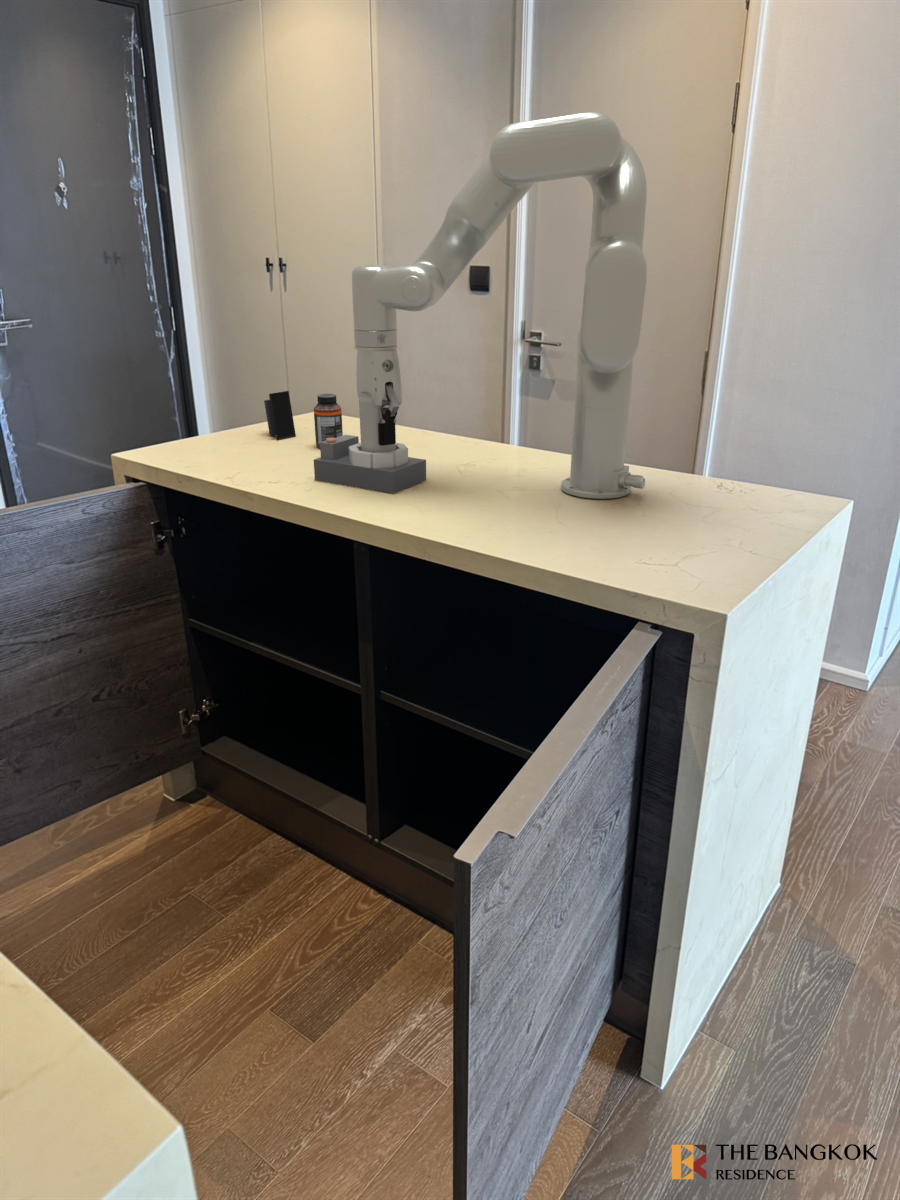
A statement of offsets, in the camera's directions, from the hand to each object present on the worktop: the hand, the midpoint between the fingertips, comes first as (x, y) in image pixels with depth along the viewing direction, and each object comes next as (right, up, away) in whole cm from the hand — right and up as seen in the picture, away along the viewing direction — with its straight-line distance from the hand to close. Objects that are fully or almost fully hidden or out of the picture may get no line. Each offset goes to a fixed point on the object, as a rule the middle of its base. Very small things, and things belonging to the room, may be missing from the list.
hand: (379, 440), depth 159 cm
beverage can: (0, -3, +1) cm, 3 cm away
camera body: (-2, -7, +4) cm, 8 cm away
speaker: (-26, +8, +40) cm, 49 cm away
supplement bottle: (-13, +4, +30) cm, 33 cm away
